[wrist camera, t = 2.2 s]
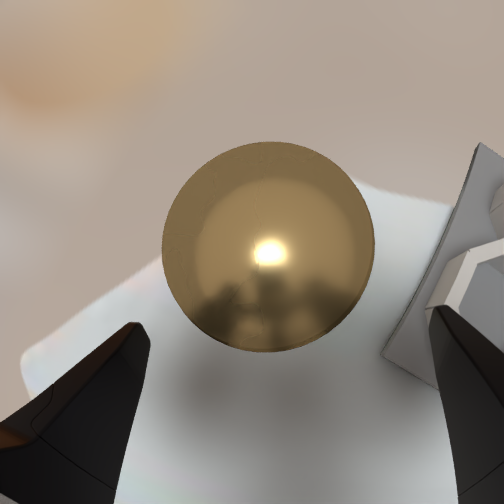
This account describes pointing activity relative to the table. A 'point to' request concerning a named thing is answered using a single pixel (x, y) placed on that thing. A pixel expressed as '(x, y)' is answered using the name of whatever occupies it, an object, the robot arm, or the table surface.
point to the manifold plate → (461, 270)
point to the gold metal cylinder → (268, 247)
